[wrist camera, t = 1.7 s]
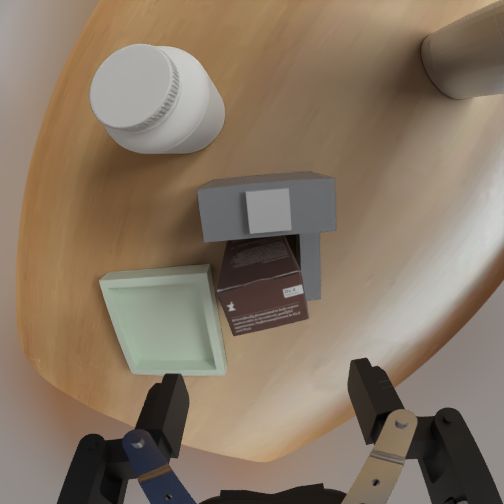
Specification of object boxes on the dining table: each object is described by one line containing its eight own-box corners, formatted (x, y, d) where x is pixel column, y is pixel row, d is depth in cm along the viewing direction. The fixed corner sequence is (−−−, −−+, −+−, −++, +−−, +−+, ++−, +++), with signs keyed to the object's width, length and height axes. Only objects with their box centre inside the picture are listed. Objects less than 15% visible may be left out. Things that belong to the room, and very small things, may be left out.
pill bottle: (148, 89, 26) (72, 47, 11) (223, 76, 25) (197, 10, 11) (153, 159, 28) (74, 166, 14) (229, 149, 28) (206, 141, 14)
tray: (210, 263, 32) (206, 272, 29) (227, 362, 36) (225, 375, 34) (108, 272, 32) (98, 280, 30) (137, 362, 37) (132, 373, 34)
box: (238, 275, 32) (231, 339, 21) (227, 237, 31) (212, 286, 19) (291, 262, 32) (311, 321, 20) (282, 223, 30) (300, 265, 19)
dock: (310, 171, 29) (336, 178, 20) (315, 287, 33) (335, 334, 24) (213, 179, 29) (195, 190, 20) (228, 295, 33) (220, 345, 24)
